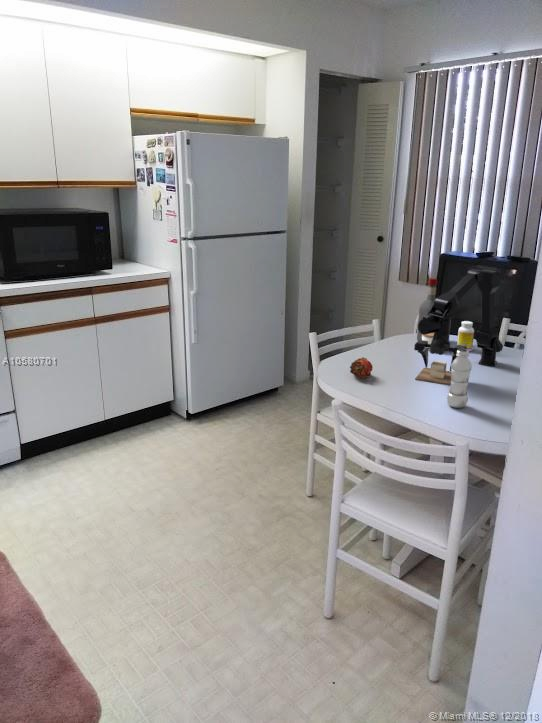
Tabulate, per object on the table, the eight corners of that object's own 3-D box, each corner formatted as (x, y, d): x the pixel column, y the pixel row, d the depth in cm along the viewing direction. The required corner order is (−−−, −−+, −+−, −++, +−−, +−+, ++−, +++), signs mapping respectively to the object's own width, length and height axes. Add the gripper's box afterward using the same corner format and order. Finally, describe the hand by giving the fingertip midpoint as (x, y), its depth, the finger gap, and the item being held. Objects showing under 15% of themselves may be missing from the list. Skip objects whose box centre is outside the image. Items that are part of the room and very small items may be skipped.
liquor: (441, 341, 253) (447, 279, 243) (428, 344, 249) (433, 281, 239) (427, 337, 260) (432, 276, 251) (413, 340, 256) (418, 278, 246)
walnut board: (423, 368, 217) (424, 367, 217) (459, 374, 210) (459, 372, 210) (415, 379, 205) (415, 378, 205) (452, 385, 199) (452, 384, 199)
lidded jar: (416, 346, 246) (417, 327, 243) (437, 344, 248) (438, 325, 245) (428, 353, 236) (429, 333, 233) (449, 351, 238) (451, 331, 235)
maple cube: (432, 372, 211) (433, 360, 209) (445, 374, 209) (446, 362, 207) (429, 376, 207) (430, 364, 205) (442, 378, 204) (444, 366, 203)
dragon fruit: (358, 386, 204) (359, 379, 215) (377, 374, 202) (376, 368, 213) (346, 368, 203) (347, 362, 215) (364, 356, 201) (365, 351, 213)
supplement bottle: (473, 352, 237) (476, 324, 233) (457, 351, 238) (460, 323, 234) (470, 347, 243) (473, 320, 239) (455, 347, 244) (458, 320, 240)
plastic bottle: (443, 403, 184) (448, 348, 177) (462, 402, 184) (468, 347, 178) (450, 410, 178) (456, 353, 171) (470, 409, 178) (477, 353, 172)
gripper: (412, 332, 199) (409, 371, 204) (463, 338, 191) (459, 379, 196) (419, 325, 209) (416, 363, 214) (469, 331, 200) (464, 370, 205)
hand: (438, 369), depth 207 cm, fingers open, 9 cm apart
